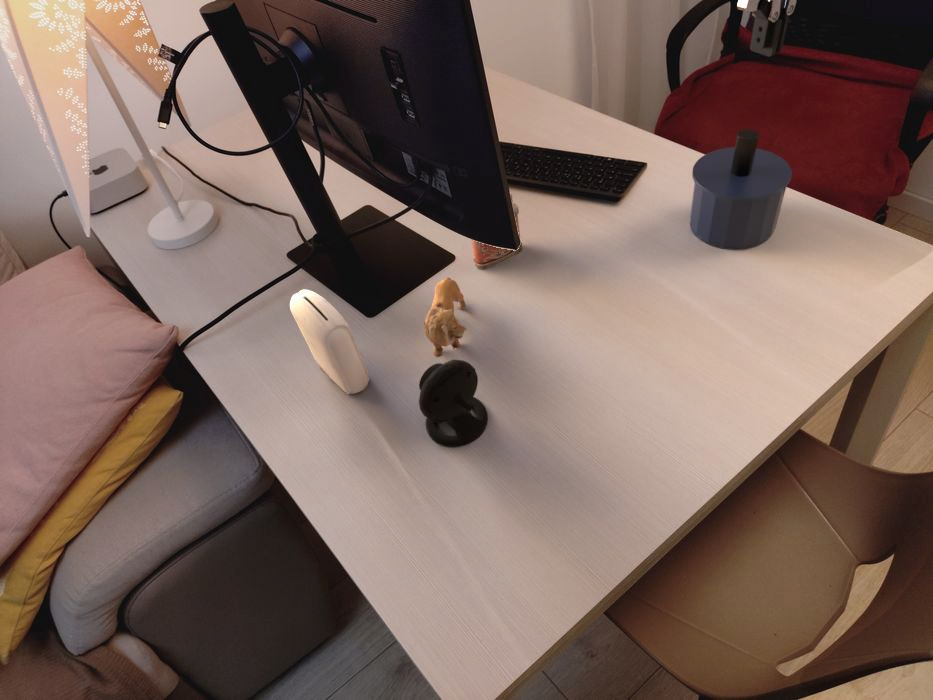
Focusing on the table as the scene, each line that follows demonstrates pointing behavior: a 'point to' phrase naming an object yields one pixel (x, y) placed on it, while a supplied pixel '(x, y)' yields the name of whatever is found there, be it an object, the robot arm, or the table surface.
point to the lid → (742, 171)
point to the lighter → (494, 250)
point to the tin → (733, 220)
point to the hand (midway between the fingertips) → (765, 51)
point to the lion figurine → (444, 317)
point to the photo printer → (330, 341)
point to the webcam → (452, 403)
